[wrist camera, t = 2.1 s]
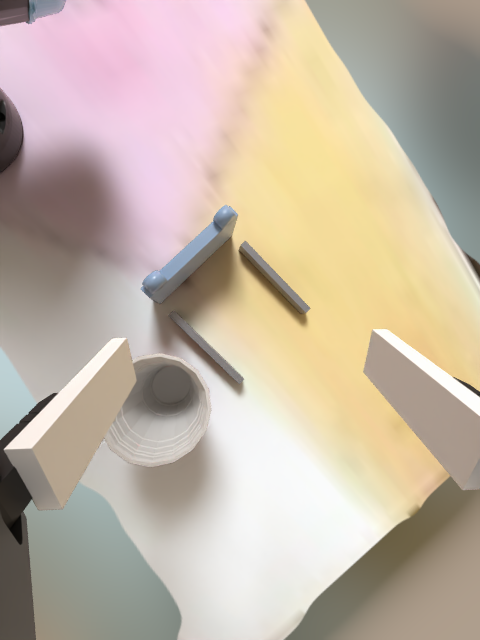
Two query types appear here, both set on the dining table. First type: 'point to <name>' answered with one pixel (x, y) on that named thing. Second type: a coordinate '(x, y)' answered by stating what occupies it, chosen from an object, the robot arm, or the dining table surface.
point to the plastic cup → (161, 412)
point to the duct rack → (193, 257)
